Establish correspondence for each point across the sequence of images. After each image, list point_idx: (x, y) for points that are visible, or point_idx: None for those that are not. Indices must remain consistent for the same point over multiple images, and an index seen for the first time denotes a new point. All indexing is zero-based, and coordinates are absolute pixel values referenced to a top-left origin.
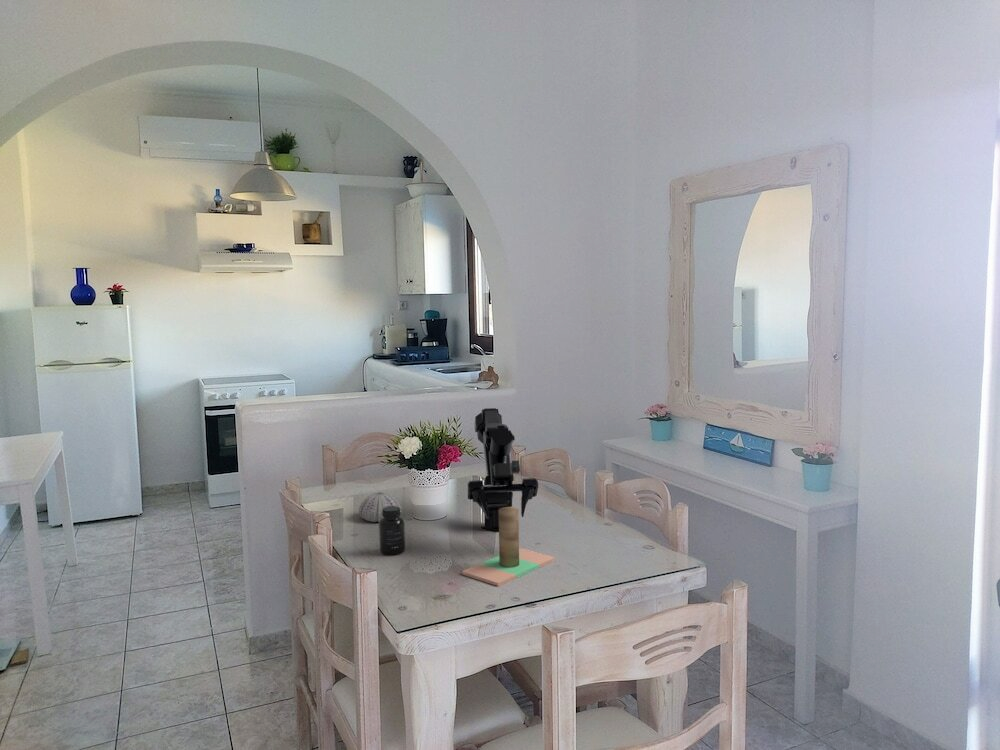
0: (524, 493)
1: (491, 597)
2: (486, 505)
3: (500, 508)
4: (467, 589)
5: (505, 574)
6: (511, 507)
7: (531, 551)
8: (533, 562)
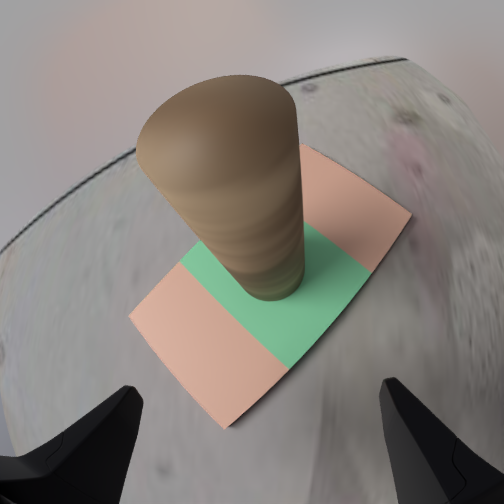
0: (23, 472)
1: (312, 110)
2: (423, 444)
3: (278, 136)
4: (370, 139)
5: None
6: (172, 168)
7: (185, 382)
8: (192, 278)
